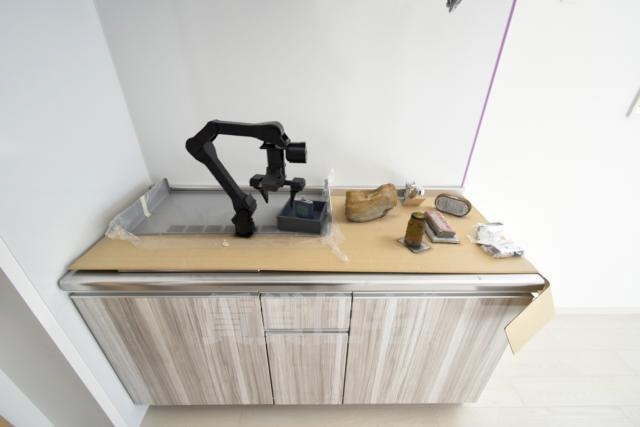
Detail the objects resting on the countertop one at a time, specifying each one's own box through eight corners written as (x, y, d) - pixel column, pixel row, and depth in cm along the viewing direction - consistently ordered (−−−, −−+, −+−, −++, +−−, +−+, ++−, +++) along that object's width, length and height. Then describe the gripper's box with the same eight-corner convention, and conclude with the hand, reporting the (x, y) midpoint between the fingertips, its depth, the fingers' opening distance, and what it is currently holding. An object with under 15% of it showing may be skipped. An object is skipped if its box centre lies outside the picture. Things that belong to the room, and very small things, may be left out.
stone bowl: (382, 205, 118) (384, 175, 112) (399, 219, 104) (403, 186, 97) (336, 210, 114) (336, 180, 108) (347, 226, 100) (348, 192, 93)
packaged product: (420, 209, 103) (443, 210, 103) (417, 218, 106) (440, 219, 105) (435, 232, 88) (463, 233, 87) (432, 242, 90) (459, 244, 90)
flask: (292, 218, 103) (291, 195, 98) (295, 215, 105) (295, 192, 100) (311, 223, 100) (312, 199, 94) (314, 219, 102) (315, 196, 97)
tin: (468, 217, 108) (474, 200, 104) (466, 219, 106) (472, 202, 101) (433, 206, 116) (438, 190, 112) (431, 209, 114) (436, 192, 110)
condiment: (412, 236, 94) (419, 208, 88) (429, 248, 87) (438, 219, 81) (398, 240, 91) (404, 212, 85) (414, 253, 84) (422, 224, 78)
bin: (277, 228, 97) (276, 216, 94) (290, 208, 112) (289, 197, 109) (320, 234, 94) (320, 221, 91) (327, 212, 109) (327, 201, 106)
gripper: (238, 167, 74) (245, 212, 82) (296, 172, 71) (298, 218, 79) (253, 157, 84) (258, 198, 91) (305, 161, 81) (306, 203, 88)
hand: (279, 204), depth 87 cm, fingers open, 9 cm apart
